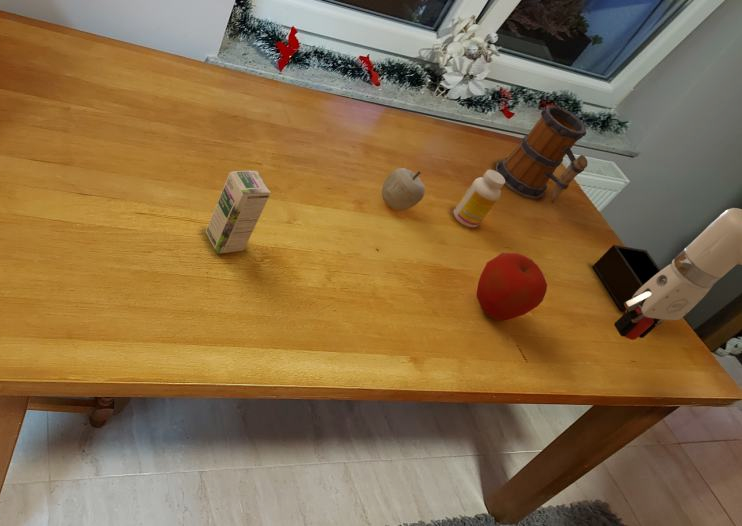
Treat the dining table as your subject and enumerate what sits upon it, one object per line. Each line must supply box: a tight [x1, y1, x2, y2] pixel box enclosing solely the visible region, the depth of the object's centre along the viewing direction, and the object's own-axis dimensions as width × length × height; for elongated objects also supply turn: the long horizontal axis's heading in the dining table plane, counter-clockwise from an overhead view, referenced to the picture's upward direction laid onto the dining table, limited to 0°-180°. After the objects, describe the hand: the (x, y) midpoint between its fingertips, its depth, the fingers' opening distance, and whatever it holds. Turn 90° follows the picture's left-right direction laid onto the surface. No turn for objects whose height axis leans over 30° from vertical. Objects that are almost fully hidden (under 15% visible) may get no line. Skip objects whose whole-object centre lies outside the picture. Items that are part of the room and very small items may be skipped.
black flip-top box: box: [591, 244, 662, 313], centre depth 158 cm, size 14×11×8 cm
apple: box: [476, 252, 548, 322], centre depth 132 cm, size 12×12×14 cm
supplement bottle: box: [453, 169, 505, 228], centre depth 153 cm, size 7×7×13 cm
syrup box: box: [205, 170, 272, 255], centre depth 118 cm, size 6×6×14 cm
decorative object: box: [381, 167, 426, 211], centre depth 147 cm, size 9×9×10 cm
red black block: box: [624, 308, 654, 341], centre depth 132 cm, size 4×4×5 cm
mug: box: [494, 104, 588, 204], centre depth 172 cm, size 19×14×20 cm
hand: (628, 330), depth 133 cm, fingers closed on red black block, 4 cm apart
